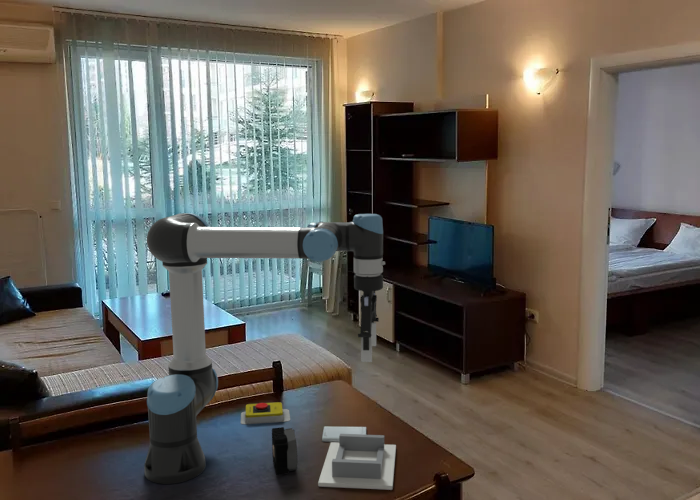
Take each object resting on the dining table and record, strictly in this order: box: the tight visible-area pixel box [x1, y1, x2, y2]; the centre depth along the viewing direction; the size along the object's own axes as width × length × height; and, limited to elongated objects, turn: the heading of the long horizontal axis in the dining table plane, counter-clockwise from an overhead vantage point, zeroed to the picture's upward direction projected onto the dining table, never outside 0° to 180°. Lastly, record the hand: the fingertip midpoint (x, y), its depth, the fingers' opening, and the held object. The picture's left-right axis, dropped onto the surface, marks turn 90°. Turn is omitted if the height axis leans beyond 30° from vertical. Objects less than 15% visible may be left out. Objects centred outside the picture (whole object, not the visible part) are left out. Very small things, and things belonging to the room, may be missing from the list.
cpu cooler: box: [271, 426, 299, 476], centre depth 162 cm, size 10×6×10 cm, turn 13°
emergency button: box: [240, 401, 291, 425], centre depth 195 cm, size 9×4×15 cm
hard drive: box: [321, 426, 367, 443], centre depth 182 cm, size 2×8×12 cm
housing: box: [317, 434, 397, 491], centre depth 163 cm, size 18×22×5 cm
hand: (369, 353), depth 167 cm, fingers open, 13 cm apart
